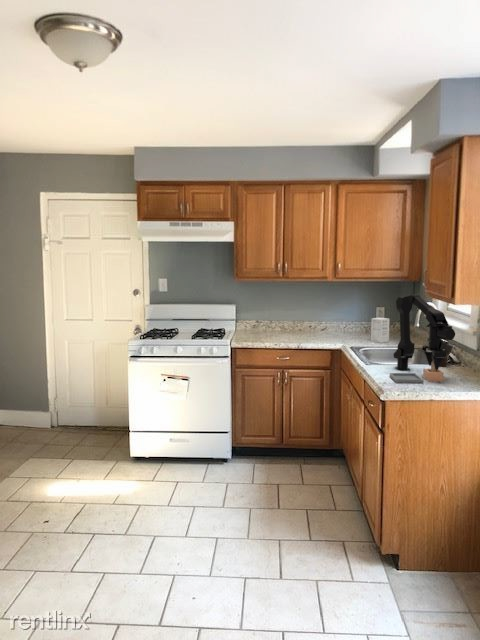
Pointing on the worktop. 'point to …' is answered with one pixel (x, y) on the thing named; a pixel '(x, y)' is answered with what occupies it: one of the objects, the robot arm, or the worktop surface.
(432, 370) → the dowel pin
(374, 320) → the supplement box
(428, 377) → the terracotta square hollow block
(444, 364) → the coffee mug
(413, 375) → the charcoal tray
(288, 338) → the worktop surface
